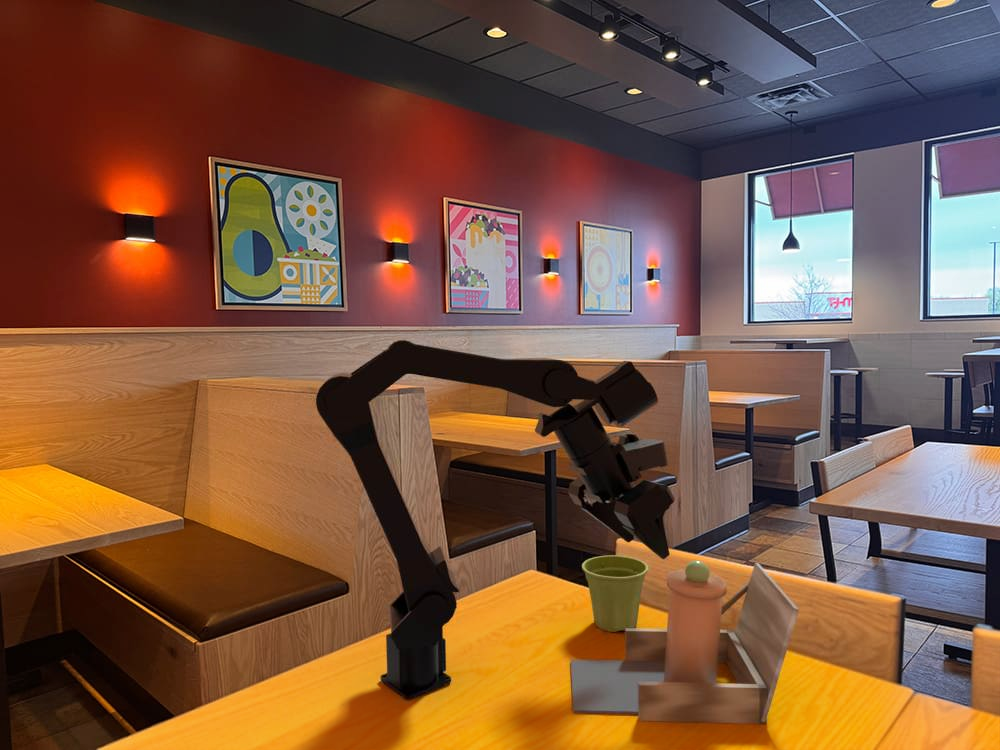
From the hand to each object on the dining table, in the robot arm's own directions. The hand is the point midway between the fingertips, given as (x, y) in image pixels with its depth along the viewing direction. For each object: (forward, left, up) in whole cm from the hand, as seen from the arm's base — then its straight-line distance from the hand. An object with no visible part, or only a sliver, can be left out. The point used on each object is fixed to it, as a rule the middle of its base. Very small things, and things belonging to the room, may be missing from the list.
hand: (647, 548), depth 90 cm
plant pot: (+5, +10, -15) cm, 18 cm away
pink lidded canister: (-3, -8, -14) cm, 17 cm away
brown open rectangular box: (-1, -9, -14) cm, 17 cm away
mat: (-8, -3, -14) cm, 17 cm away
